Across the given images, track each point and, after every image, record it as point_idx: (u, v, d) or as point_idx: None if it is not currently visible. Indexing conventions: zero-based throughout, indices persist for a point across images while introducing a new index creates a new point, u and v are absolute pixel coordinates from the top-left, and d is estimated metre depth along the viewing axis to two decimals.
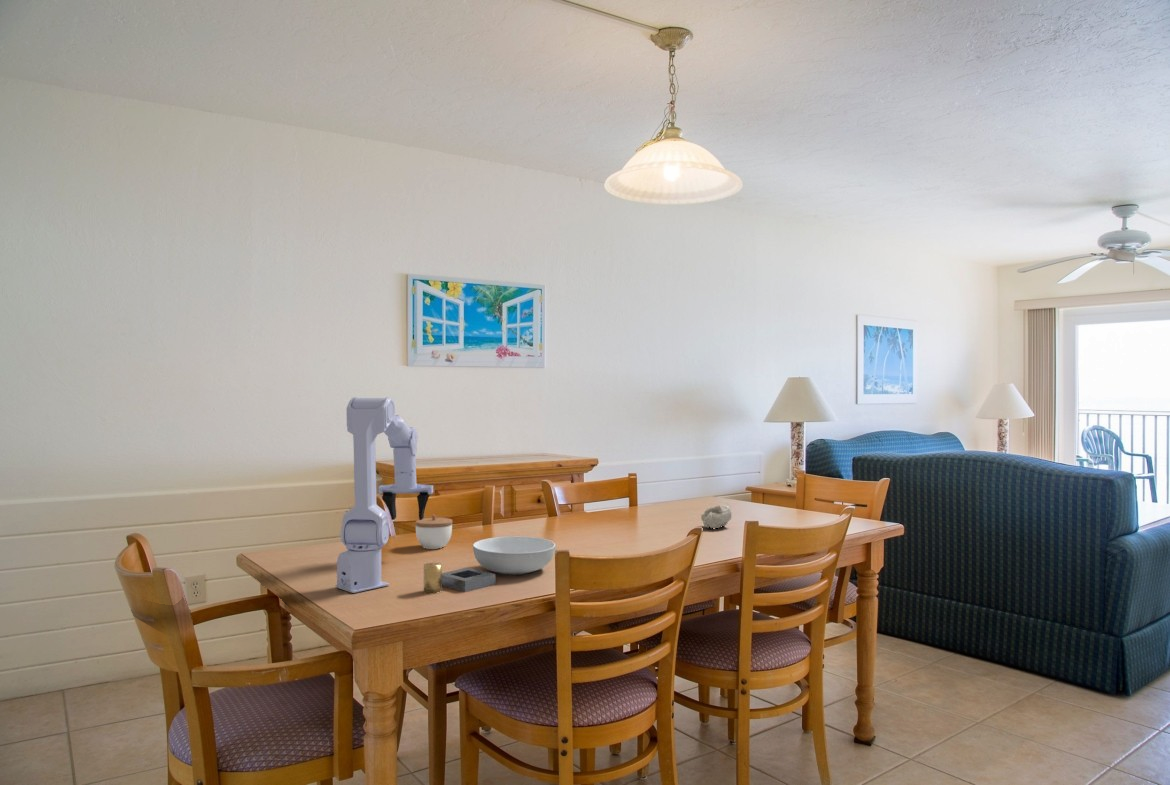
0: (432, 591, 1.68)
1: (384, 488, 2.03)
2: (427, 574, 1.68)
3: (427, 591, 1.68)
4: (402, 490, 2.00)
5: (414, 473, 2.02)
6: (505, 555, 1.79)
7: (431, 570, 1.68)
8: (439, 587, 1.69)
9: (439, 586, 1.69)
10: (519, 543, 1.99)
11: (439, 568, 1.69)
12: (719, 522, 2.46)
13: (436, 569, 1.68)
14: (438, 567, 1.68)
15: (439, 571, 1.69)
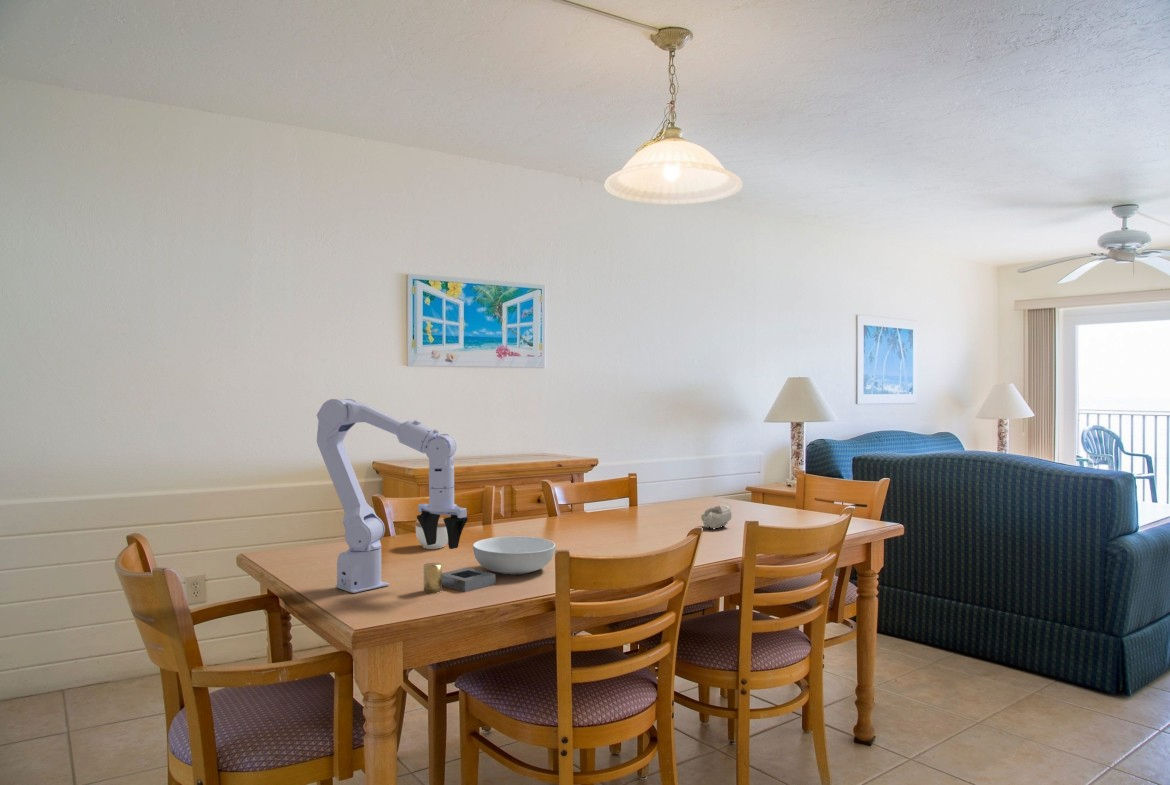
0: (432, 591, 1.68)
1: (421, 506, 1.75)
2: (427, 574, 1.68)
3: (427, 591, 1.68)
4: (431, 509, 1.70)
5: (447, 491, 1.70)
6: (505, 555, 1.79)
7: (431, 570, 1.68)
8: (439, 587, 1.69)
9: (439, 586, 1.69)
10: (519, 543, 1.99)
11: (439, 568, 1.69)
12: (719, 522, 2.46)
13: (436, 569, 1.68)
14: (438, 567, 1.68)
15: (439, 571, 1.69)
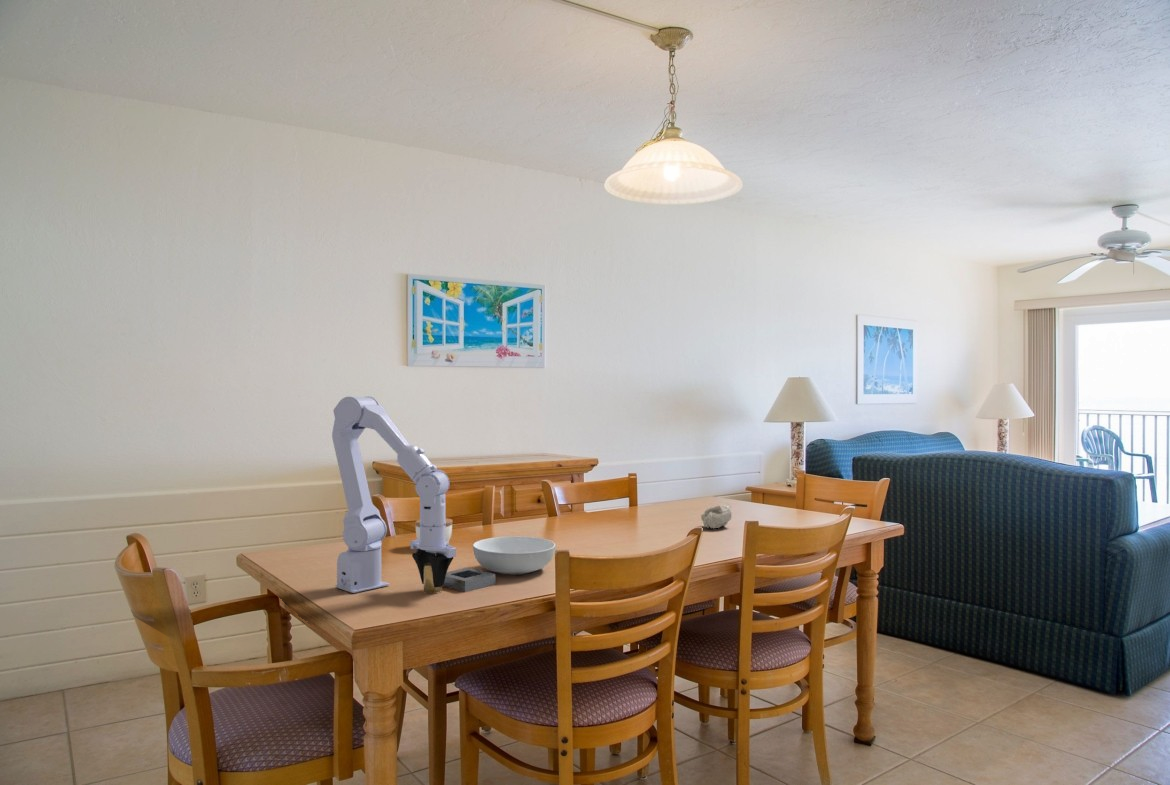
0: (432, 591, 1.68)
1: (413, 542, 1.72)
2: (427, 574, 1.68)
3: (427, 591, 1.68)
4: (421, 547, 1.67)
5: (437, 529, 1.67)
6: (505, 555, 1.79)
7: (431, 569, 1.68)
8: (439, 587, 1.69)
9: None
10: (519, 543, 1.99)
11: None
12: (719, 522, 2.46)
13: None
14: None
15: None
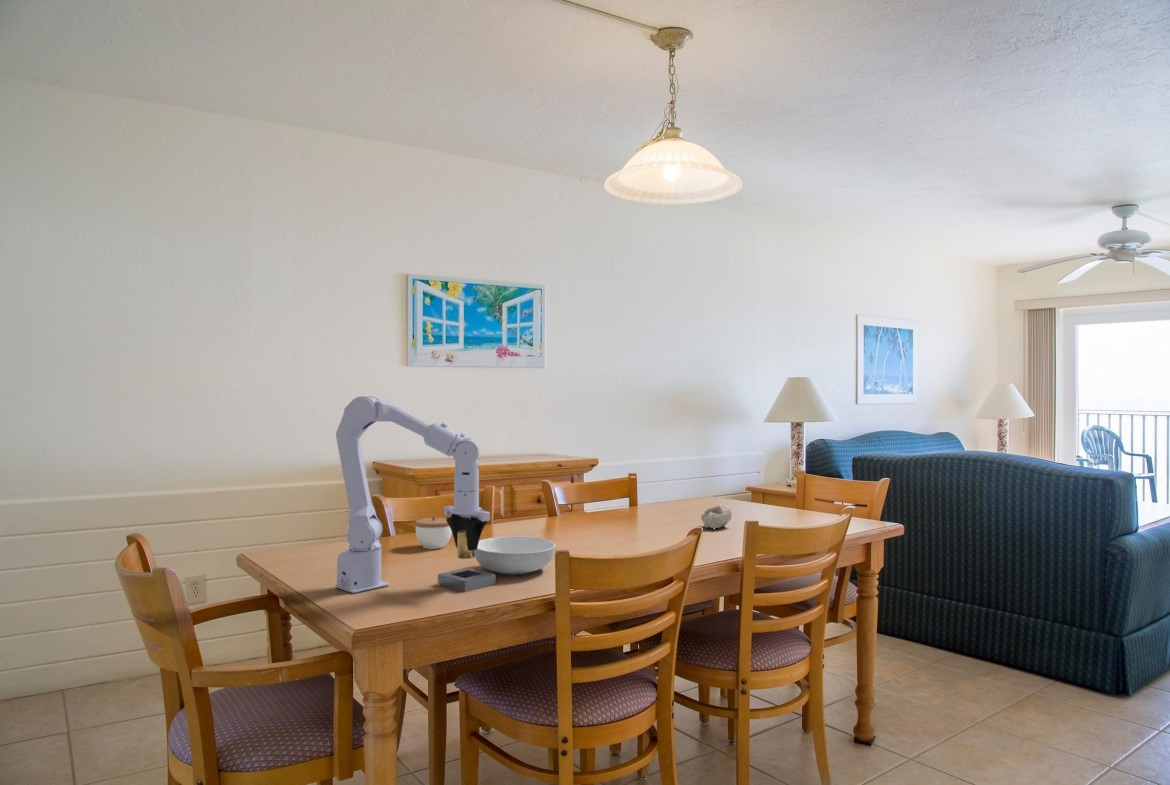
0: (466, 556, 1.73)
1: (447, 508, 1.78)
2: (461, 540, 1.74)
3: (461, 556, 1.74)
4: (456, 511, 1.73)
5: (471, 494, 1.73)
6: (505, 555, 1.79)
7: (465, 536, 1.73)
8: (472, 553, 1.74)
9: (472, 552, 1.74)
10: (519, 543, 1.99)
11: None
12: (719, 522, 2.46)
13: None
14: None
15: None
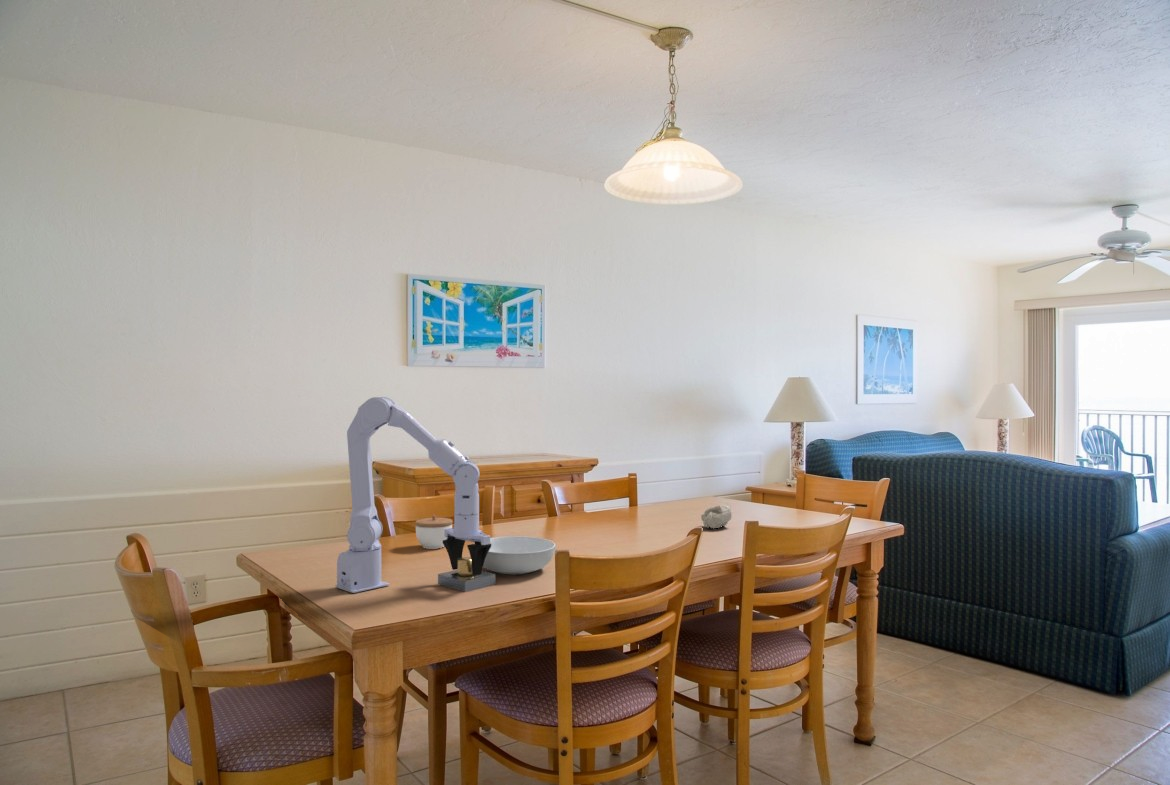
0: None
1: (447, 531, 1.78)
2: (461, 568, 1.74)
3: None
4: (456, 535, 1.73)
5: (471, 517, 1.73)
6: (505, 555, 1.79)
7: (465, 564, 1.73)
8: None
9: None
10: (519, 543, 1.99)
11: None
12: (719, 522, 2.46)
13: (470, 563, 1.74)
14: None
15: None
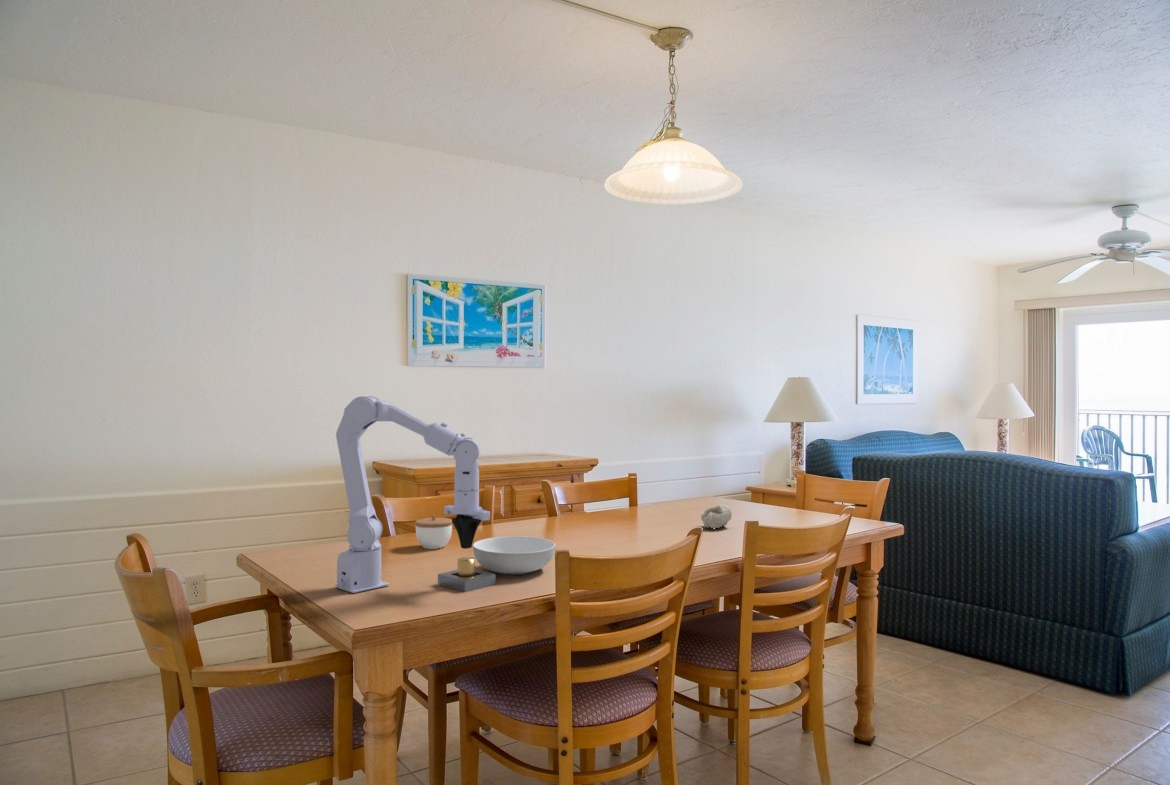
0: None
1: (447, 507, 1.78)
2: (461, 568, 1.74)
3: None
4: (456, 511, 1.73)
5: (471, 493, 1.73)
6: (505, 555, 1.79)
7: (465, 564, 1.73)
8: None
9: None
10: (519, 543, 1.99)
11: (472, 562, 1.74)
12: (719, 522, 2.46)
13: (470, 563, 1.74)
14: (472, 561, 1.74)
15: (473, 565, 1.74)
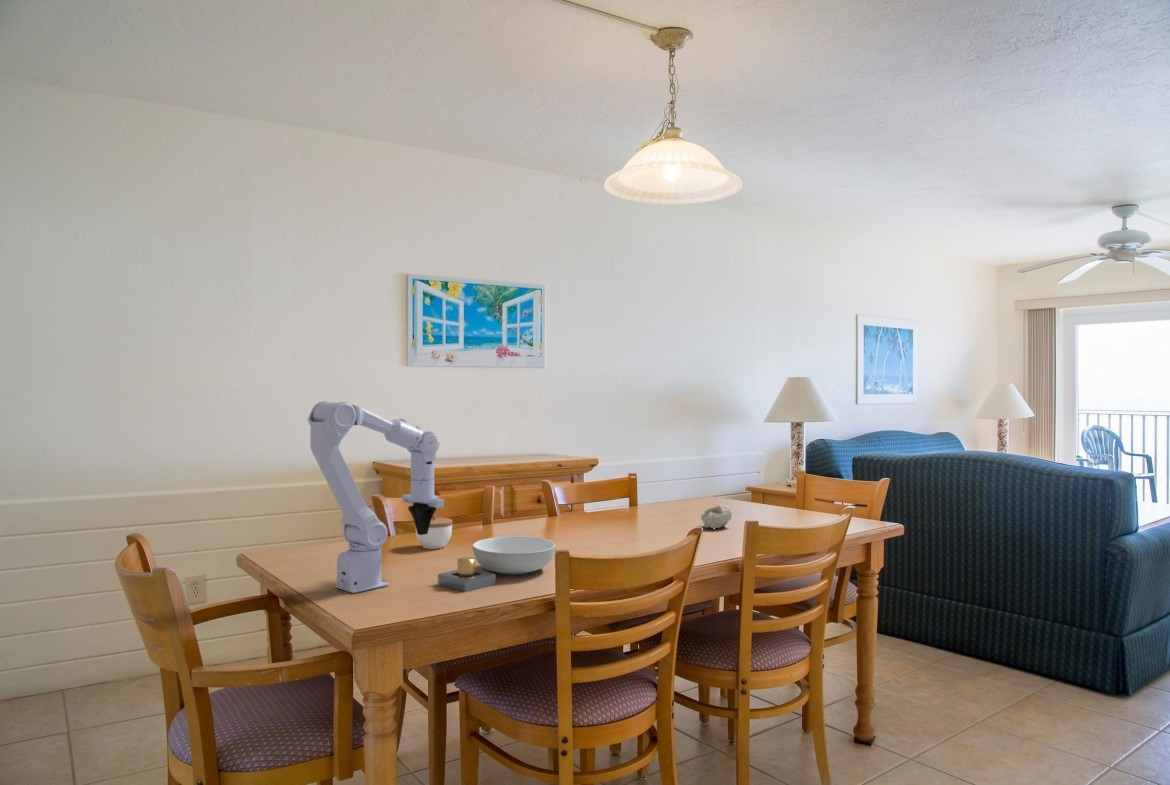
0: None
1: (405, 496, 1.88)
2: (461, 568, 1.74)
3: None
4: (412, 499, 1.83)
5: (426, 483, 1.83)
6: (505, 555, 1.79)
7: (465, 564, 1.73)
8: None
9: None
10: (519, 543, 1.99)
11: (472, 562, 1.74)
12: (719, 522, 2.46)
13: (470, 563, 1.74)
14: (472, 561, 1.74)
15: (472, 565, 1.74)
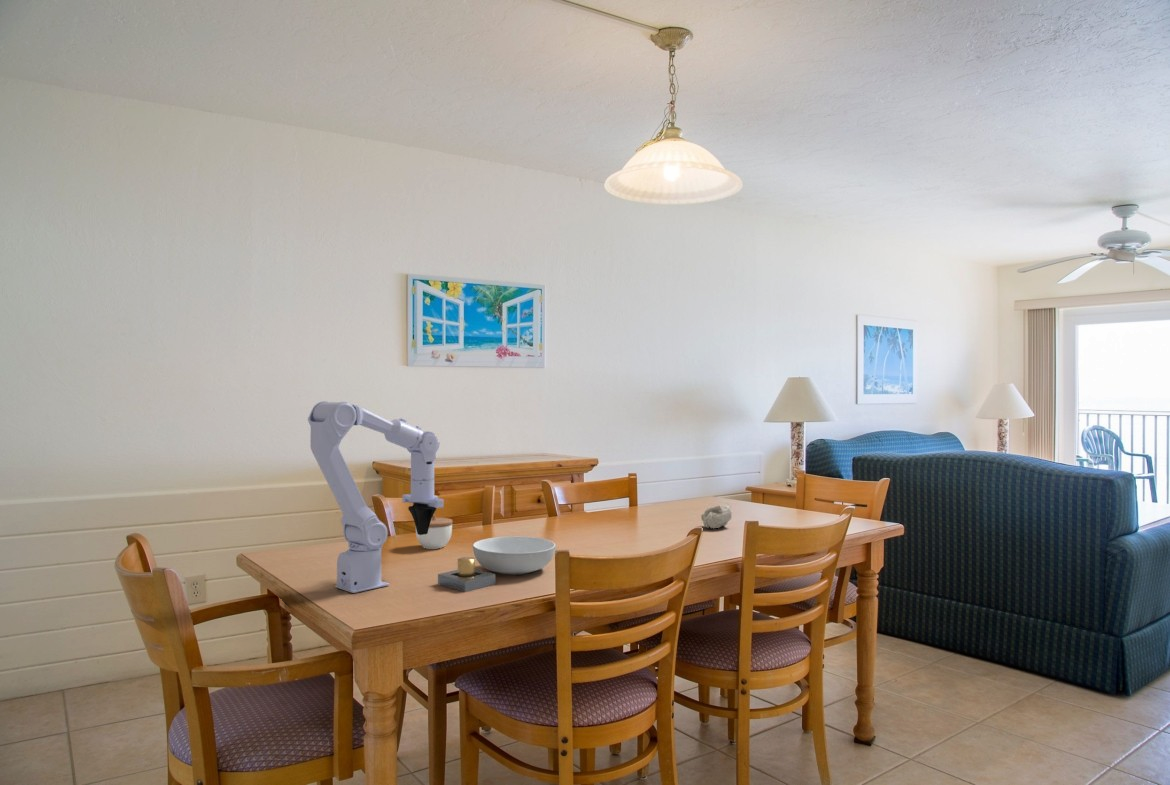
0: None
1: (405, 496, 1.88)
2: (461, 568, 1.74)
3: None
4: (412, 499, 1.83)
5: (426, 483, 1.83)
6: (505, 555, 1.79)
7: (466, 564, 1.73)
8: None
9: None
10: (519, 543, 1.99)
11: (472, 562, 1.74)
12: (719, 522, 2.46)
13: (470, 563, 1.74)
14: (472, 561, 1.74)
15: (473, 565, 1.75)
